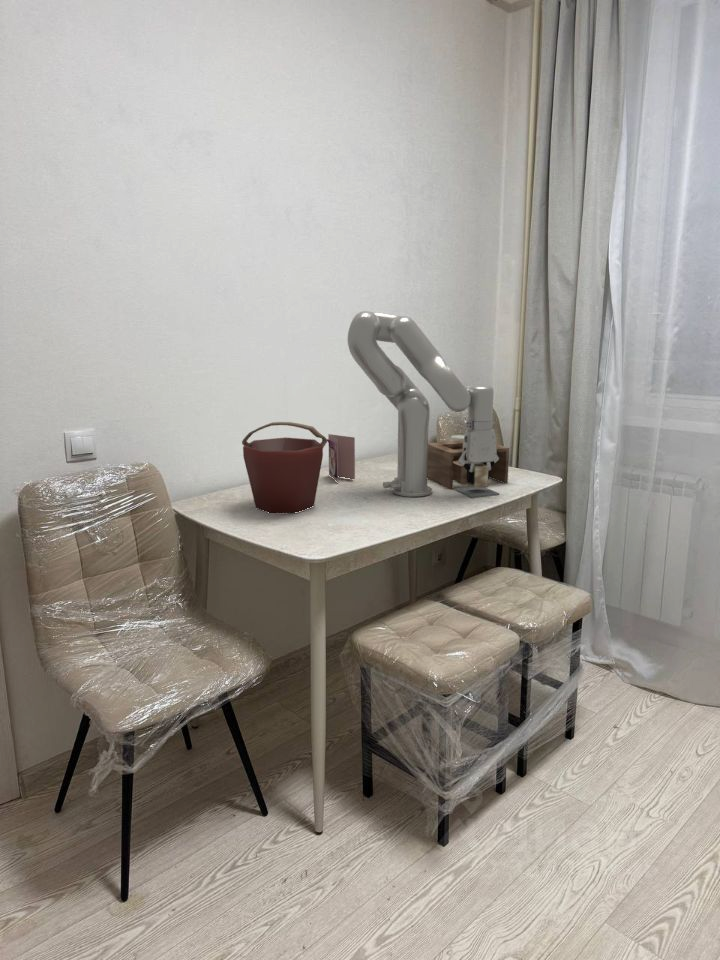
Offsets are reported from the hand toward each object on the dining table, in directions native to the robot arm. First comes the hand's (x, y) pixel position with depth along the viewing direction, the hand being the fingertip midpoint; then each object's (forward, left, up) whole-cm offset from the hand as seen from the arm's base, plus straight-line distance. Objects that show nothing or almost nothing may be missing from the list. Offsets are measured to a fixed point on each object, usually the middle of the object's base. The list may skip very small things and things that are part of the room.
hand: (477, 482), depth 211 cm
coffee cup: (+12, +32, -4) cm, 34 cm away
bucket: (-61, +7, -4) cm, 62 cm away
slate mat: (0, 0, -3) cm, 3 cm away
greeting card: (-34, +33, -4) cm, 48 cm away
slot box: (+5, +16, -3) cm, 17 cm away
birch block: (0, 0, -1) cm, 1 cm away
